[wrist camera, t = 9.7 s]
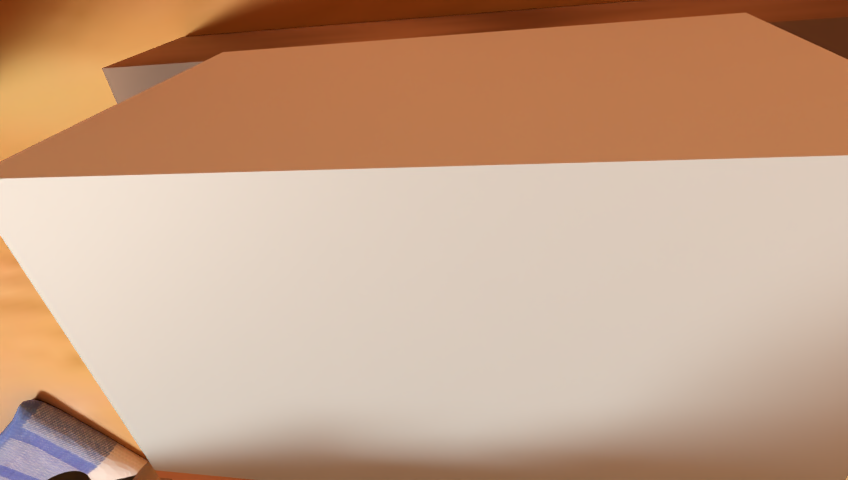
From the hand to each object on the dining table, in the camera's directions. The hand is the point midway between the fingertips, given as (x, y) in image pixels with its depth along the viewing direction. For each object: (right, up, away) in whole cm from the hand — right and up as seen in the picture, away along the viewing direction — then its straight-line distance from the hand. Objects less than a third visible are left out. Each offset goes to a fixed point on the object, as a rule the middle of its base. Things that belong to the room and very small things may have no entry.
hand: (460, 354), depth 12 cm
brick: (0, 0, -2) cm, 2 cm away
